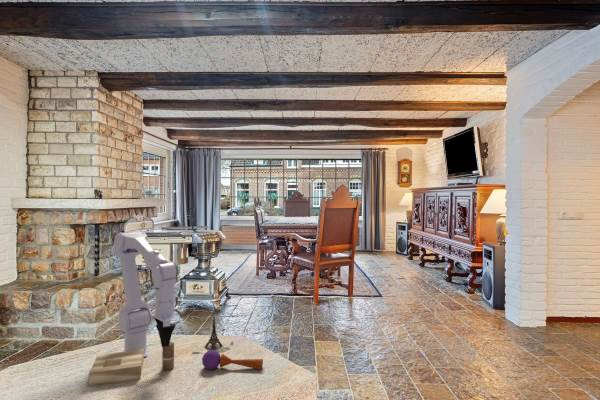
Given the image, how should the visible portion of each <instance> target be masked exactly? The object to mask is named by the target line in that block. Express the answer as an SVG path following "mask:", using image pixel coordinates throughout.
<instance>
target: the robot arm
mask: <svg viewBox="0 0 600 400" xmlns="http://www.w3.org/2000/svg"><path fill="white" fill-rule="evenodd" d="M113 245H114V254H115V257H117V258H119V259H120V266H121V267H120V269H121V273H122V274H121V275H122V281H123V288H124V289H123V290H124V294H125V296H124V297H125V302H126V303H125V305H123V307H122V308H121V309H120V310H119V311H118V313H119V314H118V315H119V316H118V317H119V318H118V325H119V329H120V330H121V331H122V332H124V347H123V348H124V350H123V352H125V351H133V350H141V349H144V354H143V358H145V357H146V358H147V356H148V352H149V345H148V344H147V342H148V341H147V336H148V335H147V334H148V333H147V331H148V330H147V329H149V328H150V325H151V324H152V321H153V319H154V321H155V323H156V325H155V327H156V328H155V329H156V330H157V331H158V336H159V339H160V346H161V348H163V347H166V346H169V344H170V342H171V338H172V334H173V331H174V330H175V328H176V323H175V322H174V323H171V321H172V319H173V318H174V317H175V280H176V279H177V278H178V276H179V267H178V265H177V264H176V262H175V261H170V260H168V259H167V258H165V257H164V255H163V254H162V253H161V252H160V251H159V250H157V249H155V250H154V249H153V248H152V247H151V245H150V244H149V242H148V235H147V234H146V232H145V231H142V230H141V231H132V232H117V233H116V234H115V237H114V239H113ZM139 255H142V256H143V257H144V258H143V262H144V264H145V265H146V266H147V267H148V268H149V270H150V271H151V276H152V279H153V286H154V287H155V302H154V303H155V304H154V305H155V308H154V310H155V312H154V313H153V312H152V311H151V307H150V305H149V303H148V302H146V301H145V300H144V301H143V299H142V294H141V288H140V282H139V275H138V269H137V262H136V258H137V256H139Z"/></svg>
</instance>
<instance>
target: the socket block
mask: <svg viewBox="0 0 600 400" xmlns="http://www.w3.org/2000/svg"><path fill="white" fill-rule="evenodd" d="M143 354H144V349H141V350H133V351H125V352H124V351H119V352H110V353H102V354H97V355H96V358H95V360H94V362H93V364H92V366H91V369H90V370H89V373H88V375H89V378H88V383H89V384H88V387H94V386H101V385H107V384H113V383H120V382H128V381H134V380H139V379H140V380H141V379H142V373H143V372H142V371H143V366H144V357H143Z"/></svg>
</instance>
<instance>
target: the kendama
mask: <svg viewBox="0 0 600 400" xmlns="http://www.w3.org/2000/svg"><path fill="white" fill-rule="evenodd" d="M201 362H202V365H203V368H205V369H207V370H214V369H216V368H217V367H219V368H222V367H226V366H229V365H230V364H233V365H237V366H238V365H239V366H243V367H246V368H251V369H256V370H260V369H261V370H260V371H262V370H263V366H264V365H263V364H264V358H256V359H255V358H252V359H251V358H249V359H248V358H247V359H244V358H243V359H231V358H230V357H228V356H227V355H225V354H223V353H219V352H217V351H216V350H209V349H208V350H207V351H206V352H204V353H203V356H202V357H201Z"/></svg>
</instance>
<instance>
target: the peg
mask: <svg viewBox="0 0 600 400" xmlns="http://www.w3.org/2000/svg"><path fill="white" fill-rule="evenodd" d="M161 352H162V357H161V359H162V362H161V363H162V364H161V368H162V369H161V370H162V371H164V372H165V371H166V372H167V371H172V370H174V369H175V342H173V341H170V344H169V346H166V347H162V351H161Z"/></svg>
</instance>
